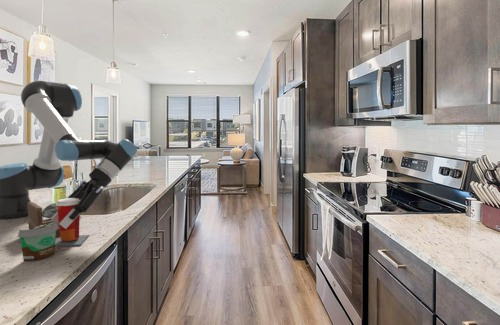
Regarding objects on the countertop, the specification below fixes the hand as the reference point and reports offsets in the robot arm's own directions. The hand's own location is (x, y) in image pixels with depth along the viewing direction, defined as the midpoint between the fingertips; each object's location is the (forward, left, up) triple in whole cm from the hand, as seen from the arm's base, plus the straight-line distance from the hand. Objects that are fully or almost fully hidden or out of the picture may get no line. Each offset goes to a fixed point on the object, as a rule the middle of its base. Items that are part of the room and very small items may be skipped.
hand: (58, 223), depth 111 cm
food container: (+11, 0, -7) cm, 13 cm away
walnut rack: (-12, -7, -7) cm, 16 cm away
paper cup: (-2, +3, -6) cm, 7 cm away
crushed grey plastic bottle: (-29, -8, -8) cm, 31 cm away
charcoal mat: (-2, +3, -7) cm, 8 cm away
